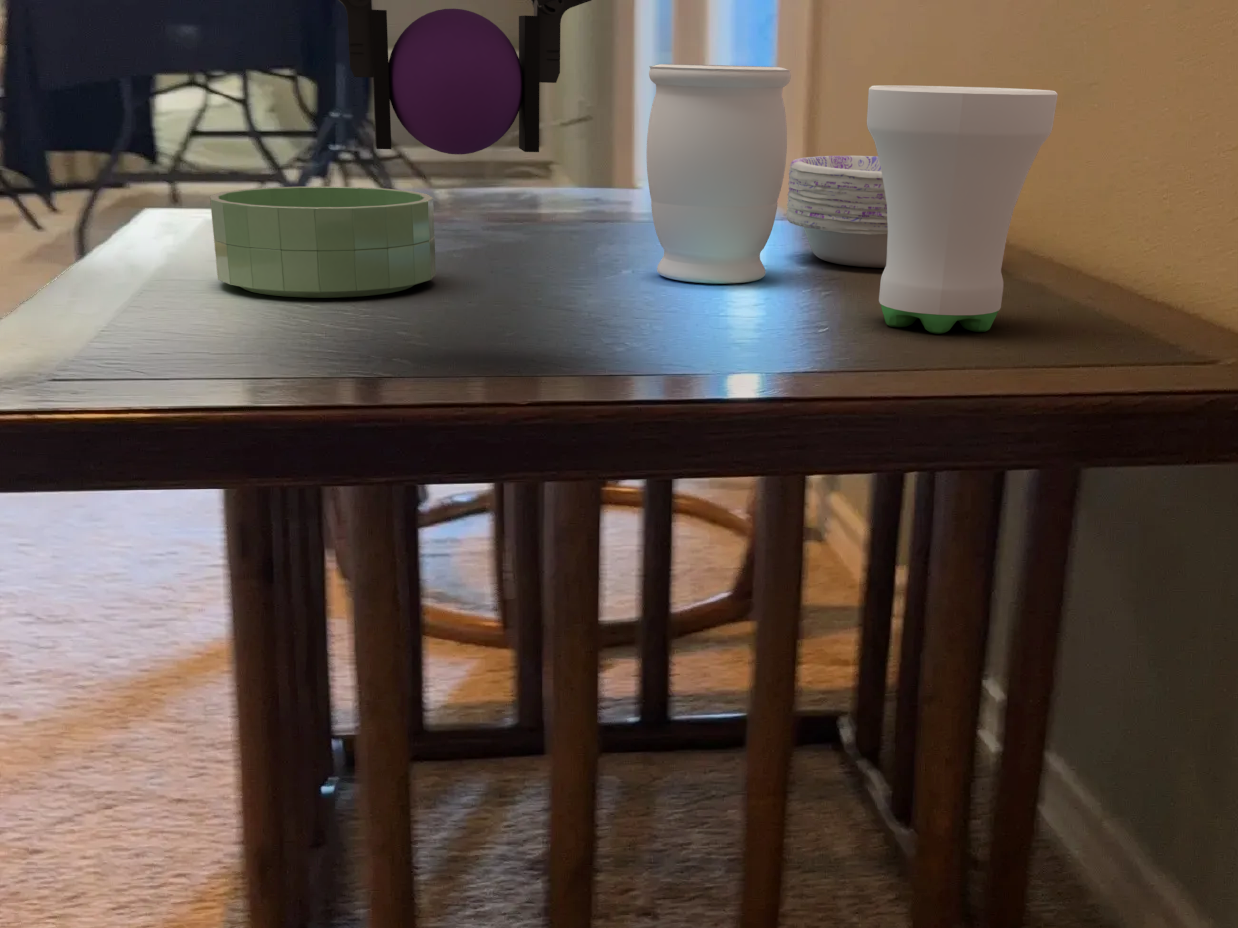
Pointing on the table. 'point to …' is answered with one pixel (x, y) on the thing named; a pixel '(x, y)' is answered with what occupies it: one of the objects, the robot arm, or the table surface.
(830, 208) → the paper bowls
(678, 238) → the jar
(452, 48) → the ball
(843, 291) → the table surface
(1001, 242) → the cup
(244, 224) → the bowl
